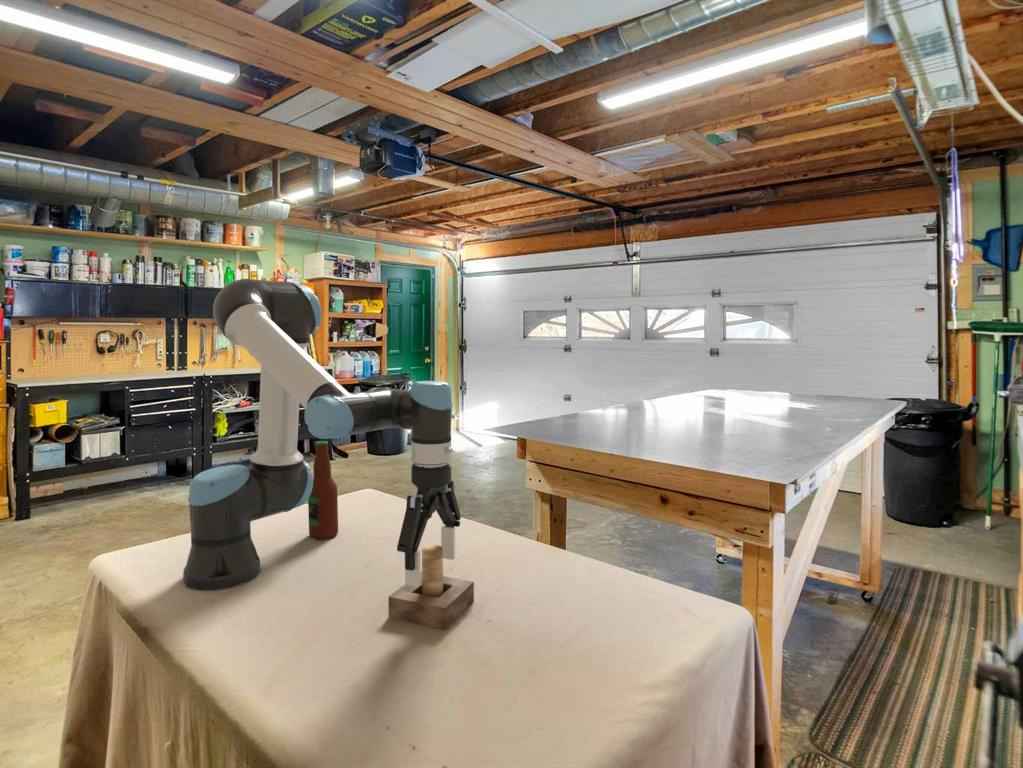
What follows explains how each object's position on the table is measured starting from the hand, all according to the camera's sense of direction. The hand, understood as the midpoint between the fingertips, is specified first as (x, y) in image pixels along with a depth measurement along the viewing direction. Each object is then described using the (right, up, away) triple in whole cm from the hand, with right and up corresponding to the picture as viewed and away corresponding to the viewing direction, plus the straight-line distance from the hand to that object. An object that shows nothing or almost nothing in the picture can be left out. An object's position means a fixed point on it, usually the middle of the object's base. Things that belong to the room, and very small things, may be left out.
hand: (431, 571), depth 112 cm
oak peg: (0, -8, +1) cm, 8 cm away
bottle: (-34, -4, +41) cm, 53 cm away
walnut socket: (0, -8, +1) cm, 8 cm away
